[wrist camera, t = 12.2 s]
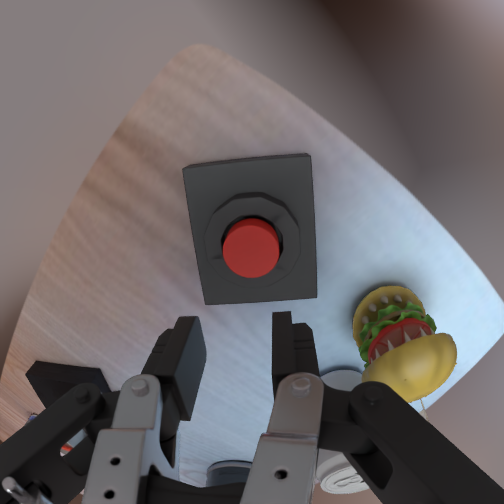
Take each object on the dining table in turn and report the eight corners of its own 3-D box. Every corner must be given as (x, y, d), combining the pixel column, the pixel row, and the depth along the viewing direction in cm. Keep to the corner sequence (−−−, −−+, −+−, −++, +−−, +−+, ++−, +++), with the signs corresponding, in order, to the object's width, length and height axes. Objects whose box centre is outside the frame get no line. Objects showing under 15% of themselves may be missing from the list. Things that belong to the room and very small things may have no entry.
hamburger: (415, 265, 26) (483, 346, 15) (423, 328, 28) (473, 414, 17) (335, 294, 27) (367, 394, 16) (351, 353, 30) (379, 452, 19)
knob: (71, 426, 34) (56, 454, 29) (57, 405, 32) (40, 433, 27) (97, 432, 34) (83, 462, 29) (83, 410, 32) (66, 441, 27)
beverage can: (372, 393, 32) (397, 481, 21) (319, 412, 33) (328, 502, 22) (358, 356, 30) (386, 453, 19) (298, 378, 31) (305, 477, 20)
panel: (137, 440, 38) (131, 457, 35) (76, 429, 39) (69, 443, 36) (100, 368, 33) (89, 386, 30) (35, 360, 34) (24, 374, 31)
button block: (314, 285, 27) (320, 310, 24) (209, 292, 28) (200, 317, 24) (307, 153, 23) (314, 157, 20) (189, 164, 24) (174, 171, 20)
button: (280, 265, 23) (281, 276, 21) (229, 269, 23) (226, 280, 21) (276, 215, 21) (276, 223, 20) (222, 220, 22) (218, 228, 20)
